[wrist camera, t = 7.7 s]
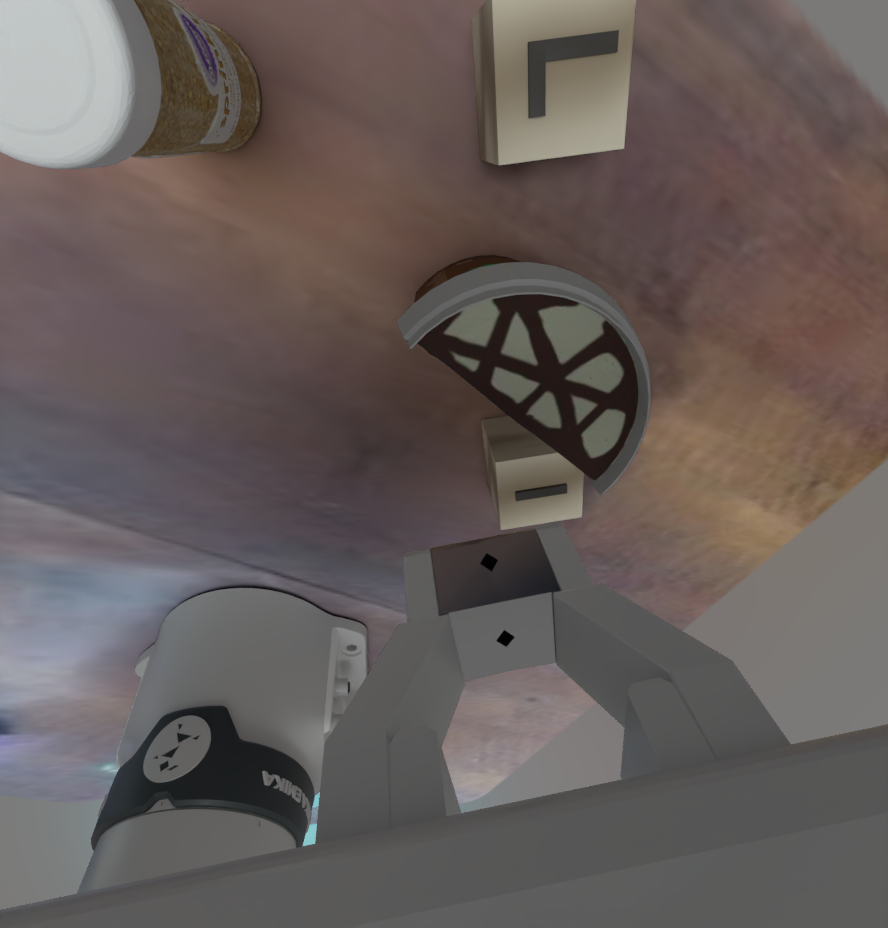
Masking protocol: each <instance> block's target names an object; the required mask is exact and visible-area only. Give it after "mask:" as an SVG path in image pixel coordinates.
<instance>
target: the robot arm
mask: <svg viewBox="0 0 888 928" xmlns="http://www.w3.org/2000/svg"><path fill="white" fill-rule="evenodd" d="M403 568H404V583H405V597H406V612H407V623H403V624H399V625H398V627H397V629H396V630H395V632H394V633H393V635H392V637H391V638H390V640H389V641H388V643H387V645H386V646H385V648H384V649H383V651H382V653H381V654H380V656H379V657H378V659H377V660H376V662H375V664H374V665H373V667H372V668H371V670H370V672H369V673H368V642H367V629H366V627H365V626H364V625H363V624H361V623H359V622H356V621H352V620H349V619H344V618H340V617H335V616H332V615H330V614H327V613H325V612H323V611H322V610H320V609H318V608H317V607H315V606H313V605H312V604H310V603H308V602H306V601H304V600H302V599H299V598H297V597H294V596H291V595H288V594H285V593H281V592H276V591H272V590H265V589H256V588H231V589H222V590H217V591H212V592H208V593H204V594H201V595H198V596H196V597H193V598H191V599H189V600H187V601H185V602H183V603H182V604H180V605H179V606H177V607H176V608H175V609H174V610H172V611H171V612H170V613H169V615H168V616H167V617H166V618H165V620H164V622H163V623H162V626H161V628H160V632H159V635H158V638H157V641H156V642H155V644H153V645H152V646H151V647H149V648H148V649H147V650H146V651H144V652H143V653H142V654H141V655H140V657H139V659H138V662H137V665H136V668H135V672H136V674H137V675H138V676H139V677H140V678H141V682H140V685H139V688H138V690H137V693H136V696H135V699H134V702H133V705H132V708H131V711H130V714H129V717H128V720H127V723H126V726H125V729H124V732H123V735H122V738H121V741H120V744H119V747H118V750H117V756H116V759H117V762H118V763H119V765H120V767H121V768H120V769H119V771H118V772H117V774H116V777H115V779H114V781H113V784H112V786H111V789H110V791H109V793H108V795H106V796H105V799H104V801H103V803H102V806H101V808H100V811H99V813H98V816H99V818H98V822H97V824H96V827H95V830H94V832H93V835H92V838H91V845H92V849H93V850H94V853H93V856H92V858H91V860H90V863H89V865H88V867H87V870H86V872H85V875H84V877H83V879H82V882H81V884H80V887H79V889H78V892H77V894H73V895H68V896H64V897H59V898H54V899H49V900H44V901H40V902H35V903H30V904H25V905H21V906H16V907H12V908H6V909H1V910H0V928H888V724H887V725H882V726H877V727H873V728H868V729H863V730H858V731H853V732H849V733H844V734H839V735H834V736H829V737H824V738H820V739H815V740H810V741H805V742H800V743H796V744H790V742H789V741H788V739H787V738H786V737H785V735H784V734H783V732H782V731H781V729H780V728H779V727H778V725H777V724H776V722H775V721H774V720H773V718H772V717H771V715H770V714H769V713H768V711H767V709H766V708H765V707H764V705H763V704H762V702H761V701H760V699H759V698H758V697H757V695H756V694H755V692H754V691H753V689H752V688H751V687H750V685H749V684H748V682H747V681H746V679H745V678H744V677H743V675H742V674H741V672H740V671H739V670H738V668H737V667H736V665H735V664H734V662H733V661H732V660H730V659H729V658H727V657H725V656H724V655H722V654H720V653H719V652H717V651H715V650H714V649H712V648H710V647H709V646H707V645H705V644H703V643H702V642H700V641H699V640H697V639H695V638H693V637H692V636H690V635H688V634H687V633H685V632H683V631H682V630H680V629H678V628H677V627H675V626H673V625H671V624H670V623H668V622H666V621H665V620H663V619H661V618H660V617H658V616H656V615H655V614H653V613H651V612H650V611H648V610H646V609H644V608H643V607H641V606H639V605H638V604H636V603H634V602H633V601H631V600H629V599H628V598H626V597H624V596H623V595H621V594H619V593H617V592H616V591H614V590H612V589H611V588H609V587H607V586H606V585H604V584H602V583H600V584H595V585H593V583H592V581H591V579H590V577H589V575H588V573H587V571H586V569H585V567H584V565H583V563H582V561H581V559H580V557H579V555H578V553H577V551H576V549H575V547H574V545H573V543H572V541H571V539H570V538H569V536H568V534H567V532H566V530H565V528H564V526H563V524H561V523H560V522H556V523H552V524H547V525H543V526H538V527H534V528H530V529H526V530H521V531H516V532H511V533H507V534H502V535H497V536H492V537H487V538H483V539H478V540H472V541H467V542H461V543H455V544H450V545H444V546H439V547H433V548H431V549H425V550H419V551H413V552H408V553H404V556H403ZM551 663H557V666H559V667H560V668H561V669H562V670H563V671H564V672H565V673H566V674H567V675H568V676H569V677H570V678H571V679H573V680H574V681H575V682H576V683H577V684H578V685H579V686H580V687H581V688H582V689H583V690H584V691H585V692H587V693H588V694H589V695H590V696H591V697H592V698H593V699H594V700H595V701H596V702H597V703H598V704H600V705H601V706H602V707H603V708H604V709H605V710H606V711H607V712H608V713H609V714H611V716H613V717H614V718H615V719H616V720H617V721H618V722H619V723H620V724H621V725H622V726H623V727H624V728H625V729H624V741H623V752H622V765H621V775H620V776H621V779H622V780H618V781H614V782H608V783H604V784H599V785H594V786H589V787H585V788H580V789H575V790H571V791H566V792H561V793H556V794H551V795H546V796H541V797H537V798H532V799H527V800H523V801H518V802H513V803H508V804H503V805H498V806H494V807H489V808H484V809H480V810H475V811H470V812H465V813H461V810H460V807H459V803H458V800H457V797H456V794H455V790H454V787H453V784H452V781H451V777H450V774H449V771H448V768H447V764H446V761H445V758H444V755H443V751H442V748H441V747H442V744H443V741H444V739H445V736H446V733H447V731H448V728H449V725H450V723H451V720H452V717H453V715H454V712H455V709H456V707H457V704H458V701H459V699H460V696H461V693H462V691H463V688H464V685H465V683H464V681H468V680H473V679H477V678H481V677H485V676H490V675H494V674H498V673H502V672H507V671H512V670H517V669H523V668H529V667H534V666H540V665H545V664H551ZM319 792H320V798H319V809H318V820H317V831H316V843H315V844H312V845H307V846H302V845H303V841H304V838H305V834H306V833H307V831H308V828H309V824H310V820H311V815H312V812H311V810H312V806H313V802H314V796H315V795H316V794H318V793H319Z"/></svg>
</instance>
